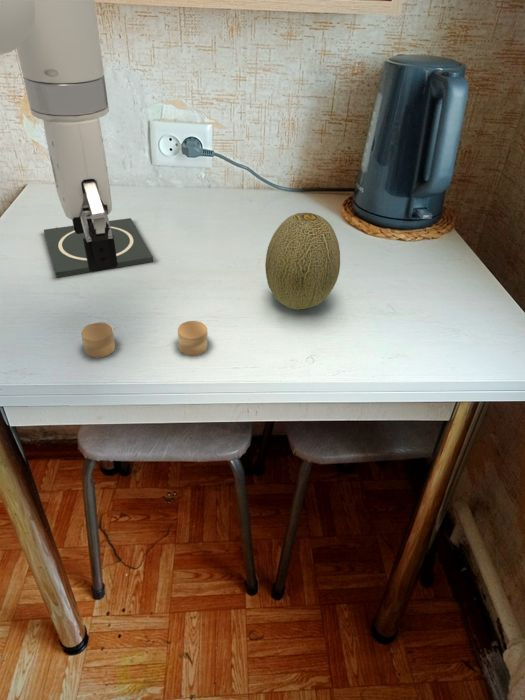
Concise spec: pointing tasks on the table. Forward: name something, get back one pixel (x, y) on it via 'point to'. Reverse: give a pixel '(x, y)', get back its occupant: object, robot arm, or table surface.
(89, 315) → the table surface
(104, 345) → the tan cork puck
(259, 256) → the table surface
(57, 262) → the slate board
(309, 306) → the fruit
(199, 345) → the tan cork stopper
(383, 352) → the table surface
